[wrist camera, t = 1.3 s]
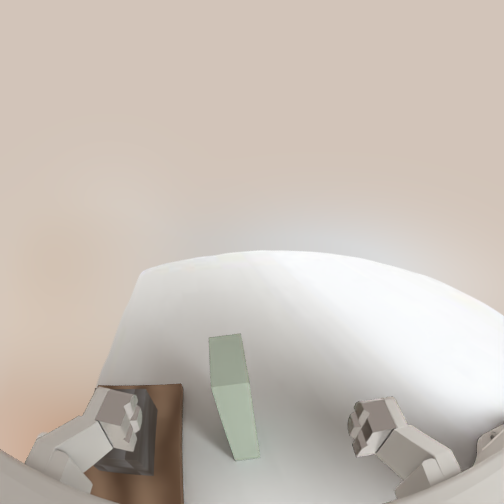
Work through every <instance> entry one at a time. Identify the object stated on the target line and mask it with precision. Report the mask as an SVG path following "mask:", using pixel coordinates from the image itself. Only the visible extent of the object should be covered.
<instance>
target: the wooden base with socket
mask: <svg viewBox="0 0 504 504" xmlns="http://www.w3.org/2000/svg"><path fill="white" fill-rule="evenodd" d="M99 386H100V387H104V388H108V389H112V390H116V391H120V392H124V393H129V394H133V395H136V396H137V399H138V403H137V405H138V406H139V407H140V408H141V411H142V424H141V428H140V430H139V431H137V432H136V433H135V435H136V437H137V441H136V444H135V448H134V451H133V452H131V451H127V450H122V449H118V448H114V447H113V449H112V450H111V451H109V452H108V453H107V454H106V455H105V456H103V457H102V458H101V459H100V460H99V461H97V462H96V463H95V464H94V465H93V466H91V467H90V468H89V469H88V470H87V471H85V472H84V474H85V475H86V476H87V478H88V479H89V480H90V481H91V482H92V484H93V486H92V489H91V492H90V494H92V495H94V496H97V497H100V498H103V499H106V500H109V501H112V502H116V503H119V504H184V499H183V468H182V412H183V387H182V384H167V385H140V386H104V385H98V387H99ZM96 389H97V388H95V390H96Z"/></svg>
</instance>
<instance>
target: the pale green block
mask: <svg viewBox="0 0 504 504" xmlns="http://www.w3.org/2000/svg"><path fill="white" fill-rule="evenodd" d="M209 357H210V378H211V389H212V392H213V396H214V399H215V402H216V405H217V408H218V412H219V415H220V418H221V421H222V424H223V427H224V430H225V433H226V436H227V439H228V442H229V445H230V448H231V450H232V453H233V456H234V459H235V461H240V460H248V459H255V458H260V453H259V446H258V439H257V432H256V426H255V419H254V412H253V404H252V397H251V390H250V383H249V377H248V372H247V366H246V360H245V355H244V349H243V343H242V338H241V334H234V335H226V336H218V337H209Z"/></svg>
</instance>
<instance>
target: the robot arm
mask: <svg viewBox="0 0 504 504" xmlns="http://www.w3.org/2000/svg"><path fill="white" fill-rule="evenodd" d="M137 403H138V399H137V396H136V395H133V394H129V393H124V392H120V391H116V390H112V389H108V388H104V387H100V386H99V387H98V388H97V389H96V390H95V392H94V394H93V396H92V398H91V400H90V402H89V404H88V406H87V408H86V410H85V412H84V414H83V416H77V417H76V418H74V419H72V420H71V421H69V422H67V423H65V424H64V425H62V426H60V427H58V428H57V429H55V430H53V431H51V432H49V433H48V434H46V435H44V436H42V437H40V438H39V439H37V440H36V442H35V444H34V446H33V447H32V450H31V452H30V454H29V456H28V457H27V459H26V461H25V464H24V463H22V462H20V461H19V460H17V459H15V458H14V457H12V456H10V455H9V454H7V453H6V452H4V451H2V450H1V449H0V504H119V503H116V502H112V501H109V500H106V499H103V498H100V497H97V496H94V495H92V494H90V492H91V489H92V486H93V484H92V482H91V481H90V480H89V479H88V478H87V476H86V475H85V474H84V472H85V471H87V470H88V469H89V468H90V467H91V466H93V465H94V464H95V463H96V462H97V461H99V460H100V459H101V458H102V457H103V456H105V455H106V454H107V453H108V452H109V451H111V450H112V449H113V447H114V448H118V449H122V450H127V451H131V452H133V451H134V448H135V444H136V441H137V437H136V435H135V433H136V432H137V431H139V430H140V428H141V424H142V411H141V408H140V407H139V406H138V405H137ZM354 409H355V412H353V413H352V414H350V417H349V419H348V432H349V436H351V437H352V438H353V439H355V440H354V442H353V444H352V445H353V449H354V452H355V455H356V457H361V456H367V455H372V454H375V455H376V456H377V457H378V458H379V459H380V460H381V461H382V462H384V463H385V464H386V465H387V466H388V467H389V468H390V469H391V470H392V471H394V472H395V473H396V474H397V475H398V476H399V477H400V478H401V479H403V480H404V481H402V482H401V483H400V484H399V485H398V486H397V487H396V488H395V490H394V491H395V494H396V498H397V499H396V500H393V501H390V502H387V503H383V504H504V424H502V425H500V426H498V427H497V428H495V429H493V430H491V431H489V432H487V433H485V434H483V435H482V436H481V437H480V438H479V439H478V442H477V457H476V460H475V463H474V465H473V467H471V468H469V469H468V470H466V471H464V472H462V470H461V468H460V466H459V464H458V462H457V460H456V458H455V456H454V454H453V452H452V450H451V449H449V448H448V447H446V446H444V445H443V444H441V443H439V442H438V441H436V440H435V439H433V438H431V437H430V436H428V435H427V434H425V433H423V432H422V431H420V430H419V429H417V428H416V427H414V426H412V425H408V424H407V422H406V420H405V418H404V416H403V413H402V412H401V410H400V408H399V406H398V404H397V402H396V400H395V398H394V397H393V396H392V397H386V398H378V399H372V400H365V401H358V402H357V403H356V404H355V406H354ZM490 437H491V438H492V440H491V438H490Z"/></svg>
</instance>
